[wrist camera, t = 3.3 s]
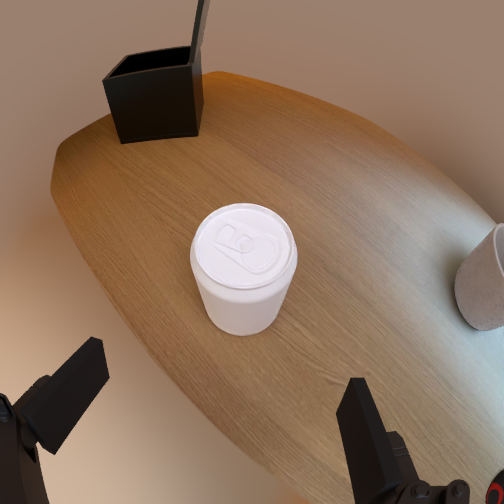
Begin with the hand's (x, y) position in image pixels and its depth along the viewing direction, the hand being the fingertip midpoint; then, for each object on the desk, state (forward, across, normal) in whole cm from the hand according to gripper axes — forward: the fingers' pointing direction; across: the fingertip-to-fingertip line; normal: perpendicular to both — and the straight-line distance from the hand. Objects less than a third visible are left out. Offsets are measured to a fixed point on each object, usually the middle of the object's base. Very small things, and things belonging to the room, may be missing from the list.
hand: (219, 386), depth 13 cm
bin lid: (+26, -12, +37) cm, 47 cm away
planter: (+19, +34, -1) cm, 39 cm away
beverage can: (+17, 0, -3) cm, 17 cm away
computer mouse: (-5, +43, -26) cm, 51 cm away
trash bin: (+40, -20, +20) cm, 50 cm away
